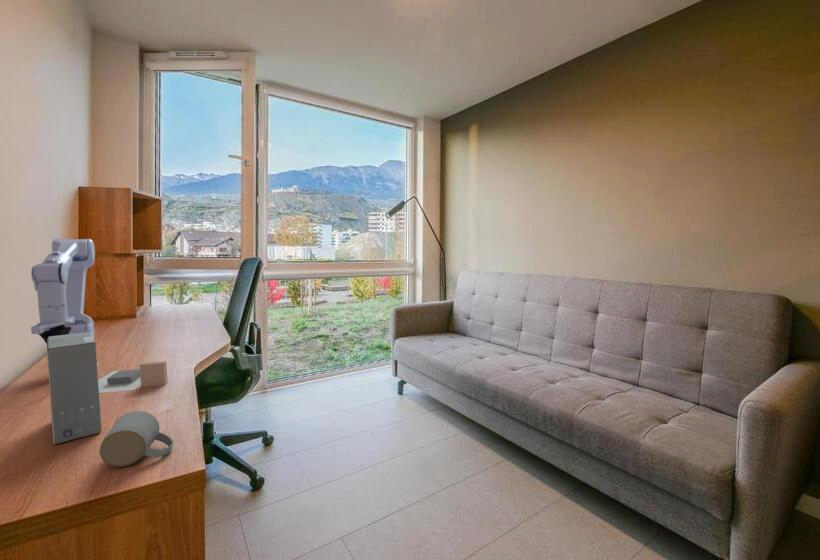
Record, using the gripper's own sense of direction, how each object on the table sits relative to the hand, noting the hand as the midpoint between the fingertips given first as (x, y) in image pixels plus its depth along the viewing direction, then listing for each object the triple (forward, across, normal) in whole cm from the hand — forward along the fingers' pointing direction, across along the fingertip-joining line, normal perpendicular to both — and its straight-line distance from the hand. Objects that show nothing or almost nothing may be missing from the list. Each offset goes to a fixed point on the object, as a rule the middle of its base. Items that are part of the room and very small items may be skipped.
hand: (57, 353), depth 105 cm
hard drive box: (+10, -29, -19) cm, 36 cm away
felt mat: (+10, +1, -15) cm, 18 cm away
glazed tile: (+8, +4, -16) cm, 19 cm away
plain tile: (+10, -6, -26) cm, 28 cm away
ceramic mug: (+10, -46, -38) cm, 61 cm away
